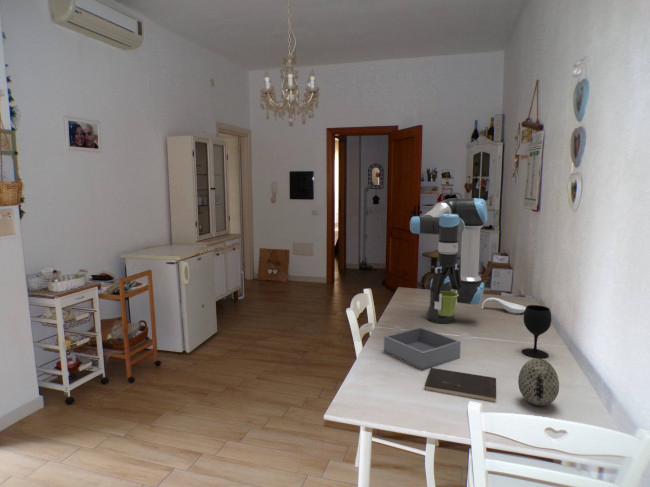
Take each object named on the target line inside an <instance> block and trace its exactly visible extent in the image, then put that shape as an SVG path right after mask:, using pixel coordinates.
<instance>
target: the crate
mask: <svg viewBox="0 0 650 487" xmlns="http://www.w3.org/2000/svg"><path fill="white" fill-rule="evenodd" d="M461 343H462V342H461V341H460V340H457V339H455V338H452V337H449V336H446V335H443V334H441V333H437V332H435V331H432V330H430V329H426V328H424V327H421V326H418V327H415V328H412V329H408V330H404V331H401V332H397V333H396V332H395V333H393V334H388V335H386V336H384V338H383V353H384V352H386V353H385V354H387V353H388V354H387V355H389V354H390V355H389V356H391V355H393V356H395V357H397V358H399V359H401V360H403V361H405V362H404V363H406V362H407V363H406V364H408V363H409V364H408V365H410V364H411V365H410V366H412V365H413V367H414V366H415V367H414V368H416V367H417V369H418V368H419V369H418V370H420V369H421V371H426V370H430V369H431V368H436V367H437V366H440V365H443V364H446V363H448V362H452V361H455V360H458V359H460V358H461ZM393 356H392V357H393ZM395 357H394V358H395ZM397 358H396V359H397ZM399 359H398V360H399ZM401 360H400V361H401ZM403 361H402V362H403Z"/></svg>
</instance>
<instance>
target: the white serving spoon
mask: <svg viewBox="0 0 650 487" xmlns="http://www.w3.org/2000/svg"><path fill="white" fill-rule="evenodd" d="M490 301H495V302H497V303H499V304H500V305H501V306H502V308H503V309H504V310H506V311H507V313H508V314H513V315H516V314H517V315H519V314H523V313H524V312H525V309H526V307H527V306H524V305H521V304H518V303H513V302H509V301H506V300H503V299H501V298H498V297H488V298H486V299H484V301H483V302H482V304H481V307H480V309H481V310H484V308H485V304H487V302H490Z"/></svg>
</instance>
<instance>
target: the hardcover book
mask: <svg viewBox="0 0 650 487" xmlns="http://www.w3.org/2000/svg"><path fill="white" fill-rule="evenodd" d="M424 387H425V388H424V389H428V390H427V391H431V390H433V392H437V391H439V392H438V393H442V392H445V393H444V394H448V393H450V394H449V395H454V394H455V395H454V396H459V395H460V397H465V396H466V398H471V397H472V399H478V400H483V401H489V402H493V403H495V402H496V400H497V378H496V377H494V376H493V377H492V376H486V375H480V374H473V373H467V372H461V371H455V370H448V369H441V368H436V367H432V368H429V371H428V375H427V378H426V380H425V383H424Z"/></svg>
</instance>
